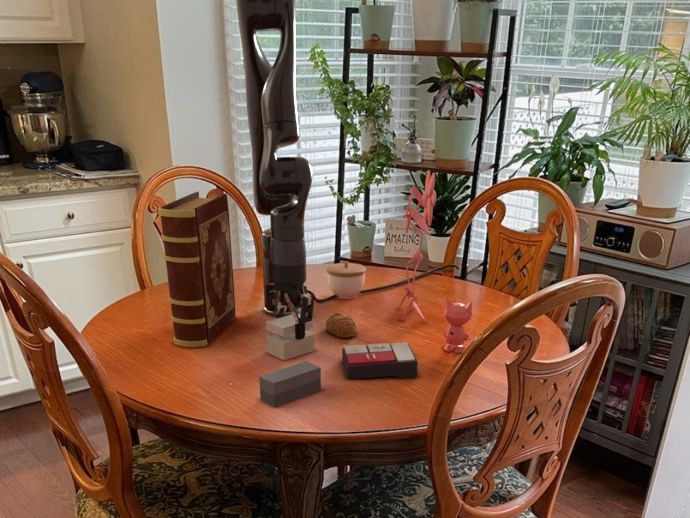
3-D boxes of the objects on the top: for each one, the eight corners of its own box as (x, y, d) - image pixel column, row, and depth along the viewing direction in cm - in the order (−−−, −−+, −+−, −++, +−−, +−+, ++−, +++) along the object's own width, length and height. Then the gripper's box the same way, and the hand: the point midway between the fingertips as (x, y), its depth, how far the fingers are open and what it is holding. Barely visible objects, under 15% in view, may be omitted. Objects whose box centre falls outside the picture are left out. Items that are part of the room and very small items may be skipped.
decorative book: (203, 349, 162) (189, 211, 147) (170, 346, 164) (153, 208, 148) (237, 318, 181) (228, 193, 165) (207, 315, 182) (196, 190, 167)
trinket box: (320, 298, 197) (320, 264, 192) (336, 288, 206) (336, 255, 201) (355, 303, 194) (356, 269, 189) (370, 293, 202) (371, 259, 197)
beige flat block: (297, 321, 164) (296, 312, 163) (314, 327, 160) (314, 319, 159) (266, 330, 158) (265, 321, 157) (283, 336, 155) (282, 328, 154)
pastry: (363, 337, 171) (364, 322, 169) (338, 341, 169) (338, 325, 167) (347, 325, 179) (347, 310, 177) (322, 328, 176) (322, 313, 174)
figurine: (400, 332, 175) (408, 179, 157) (391, 300, 197) (398, 163, 179) (462, 332, 176) (477, 180, 158) (446, 300, 198) (458, 164, 180)
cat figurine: (471, 347, 167) (477, 297, 161) (465, 357, 162) (470, 305, 155) (442, 343, 169) (447, 293, 163) (435, 353, 164) (439, 301, 157)
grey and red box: (341, 344, 157) (408, 339, 158) (342, 362, 159) (408, 357, 160) (346, 363, 147) (418, 358, 149) (347, 382, 150) (417, 377, 151)
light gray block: (297, 343, 167) (297, 327, 165) (314, 350, 163) (314, 334, 161) (267, 353, 161) (266, 336, 159) (284, 360, 158) (283, 343, 156)
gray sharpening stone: (306, 383, 147) (306, 360, 145) (321, 390, 145) (320, 367, 142) (260, 399, 140) (259, 376, 137) (274, 407, 137) (273, 383, 135)
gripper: (324, 263, 149) (324, 339, 158) (280, 250, 158) (283, 323, 167) (296, 269, 145) (298, 347, 153) (253, 255, 153) (257, 330, 162)
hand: (290, 334), depth 160 cm, fingers closed on beige flat block, 6 cm apart
